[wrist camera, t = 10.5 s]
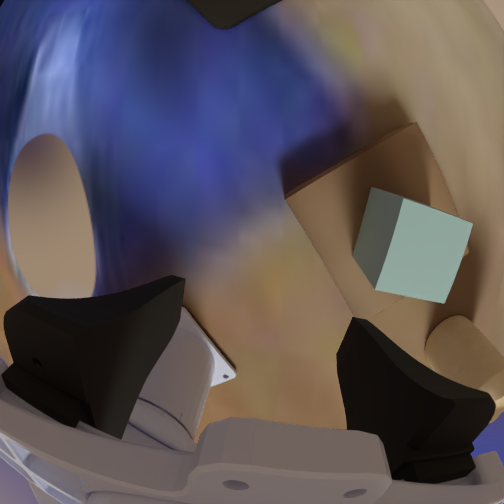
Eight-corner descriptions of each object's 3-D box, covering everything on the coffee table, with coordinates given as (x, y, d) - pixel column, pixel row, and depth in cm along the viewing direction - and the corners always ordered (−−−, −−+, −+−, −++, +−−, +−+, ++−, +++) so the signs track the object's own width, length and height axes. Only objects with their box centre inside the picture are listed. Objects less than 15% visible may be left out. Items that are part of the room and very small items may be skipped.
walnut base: (349, 304, 22) (358, 324, 19) (283, 194, 20) (284, 199, 17) (450, 241, 20) (469, 252, 17) (399, 126, 18) (416, 122, 15)
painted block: (410, 269, 18) (444, 303, 13) (352, 255, 18) (374, 289, 13) (430, 206, 16) (473, 223, 12) (371, 186, 16) (403, 198, 12)
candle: (438, 311, 21) (496, 384, 12) (478, 316, 21) (536, 377, 11) (415, 362, 23) (454, 441, 13) (456, 363, 23) (498, 430, 13)
